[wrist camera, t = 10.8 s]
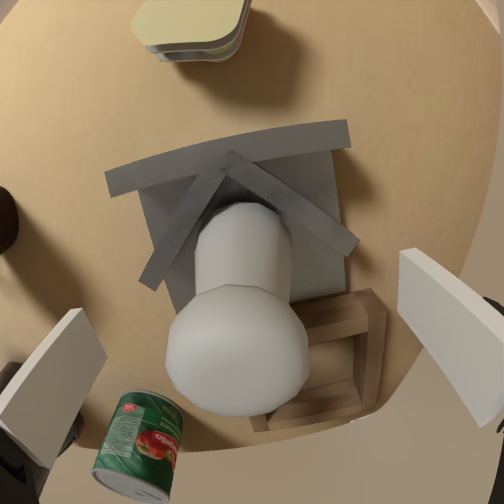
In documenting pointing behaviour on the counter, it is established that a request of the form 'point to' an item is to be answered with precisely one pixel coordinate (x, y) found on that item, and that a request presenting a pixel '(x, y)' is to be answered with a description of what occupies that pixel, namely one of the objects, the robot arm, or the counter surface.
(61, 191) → the counter surface
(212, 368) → the salt shaker
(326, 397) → the bore block
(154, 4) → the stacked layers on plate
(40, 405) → the robot arm
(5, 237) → the coffee mug
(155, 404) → the canned tomato
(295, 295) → the v-block
